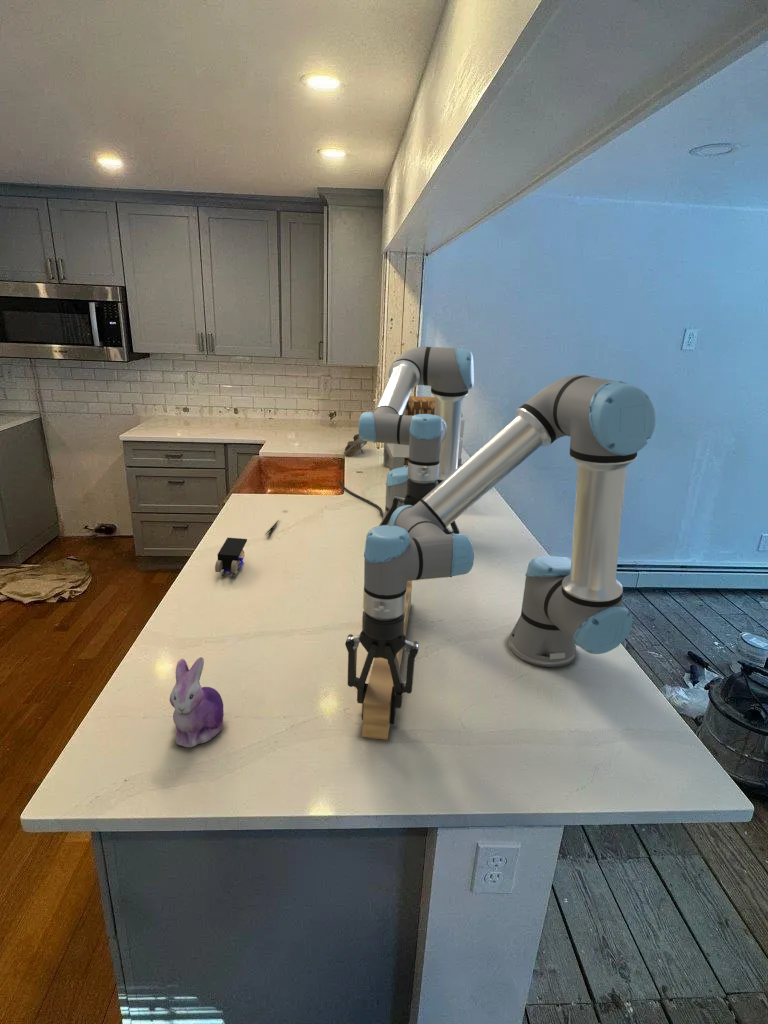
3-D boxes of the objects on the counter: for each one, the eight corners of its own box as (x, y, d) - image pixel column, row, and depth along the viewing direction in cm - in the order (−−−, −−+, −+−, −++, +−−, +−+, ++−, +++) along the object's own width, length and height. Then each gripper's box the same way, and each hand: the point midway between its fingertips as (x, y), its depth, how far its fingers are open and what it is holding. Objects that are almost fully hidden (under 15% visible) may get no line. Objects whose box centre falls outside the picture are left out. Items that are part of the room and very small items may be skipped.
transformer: (382, 463, 289) (386, 382, 275) (445, 464, 293) (451, 384, 279) (390, 482, 257) (394, 392, 243) (460, 483, 261) (468, 394, 247)
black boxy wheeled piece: (238, 584, 162) (249, 557, 175) (236, 562, 158) (247, 536, 172) (215, 584, 161) (227, 556, 175) (212, 561, 158) (225, 535, 171)
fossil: (344, 439, 317) (365, 424, 312) (355, 453, 320) (376, 438, 315) (338, 453, 298) (360, 437, 293) (349, 467, 300) (371, 451, 295)
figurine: (177, 757, 98) (169, 685, 93) (168, 720, 106) (161, 652, 101) (232, 741, 102) (228, 671, 97) (219, 707, 111) (215, 640, 105)
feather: (285, 514, 217) (288, 510, 216) (267, 540, 190) (270, 535, 190) (282, 511, 216) (284, 507, 216) (262, 537, 190) (265, 532, 189)
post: (393, 604, 152) (394, 578, 150) (410, 606, 152) (412, 579, 149) (362, 737, 105) (363, 702, 102) (387, 740, 104) (389, 705, 102)
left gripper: (370, 480, 134) (366, 562, 141) (475, 487, 133) (467, 569, 140) (372, 472, 141) (369, 550, 148) (473, 478, 140) (465, 556, 147)
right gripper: (330, 616, 99) (329, 725, 107) (432, 627, 97) (423, 737, 105) (339, 596, 106) (337, 699, 114) (434, 605, 104) (425, 710, 112)
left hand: (417, 559), depth 144 cm, fingers open, 13 cm apart
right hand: (378, 717), depth 109 cm, fingers closed on post, 5 cm apart
